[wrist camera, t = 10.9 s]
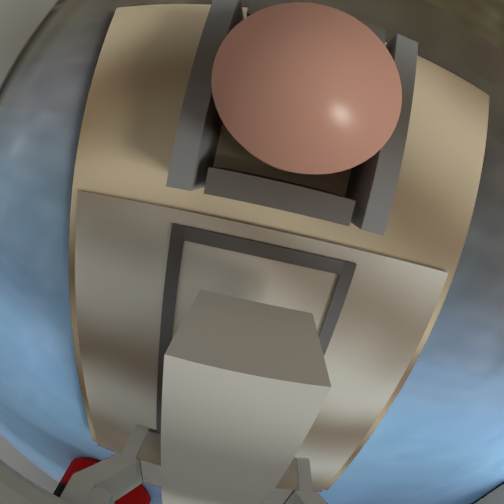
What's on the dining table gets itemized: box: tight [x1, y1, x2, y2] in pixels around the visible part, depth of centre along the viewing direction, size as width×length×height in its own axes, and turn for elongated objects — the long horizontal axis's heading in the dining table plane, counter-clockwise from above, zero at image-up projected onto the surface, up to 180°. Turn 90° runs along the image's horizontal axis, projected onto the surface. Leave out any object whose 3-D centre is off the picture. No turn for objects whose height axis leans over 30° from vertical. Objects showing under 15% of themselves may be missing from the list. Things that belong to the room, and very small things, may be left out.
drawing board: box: [69, 0, 489, 492], centre depth 11 cm, size 24×16×3 cm, turn 168°
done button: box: [211, 2, 402, 175], centre depth 7 cm, size 4×4×3 cm
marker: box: [161, 289, 331, 504], centre depth 9 cm, size 4×12×4 cm, turn 168°
